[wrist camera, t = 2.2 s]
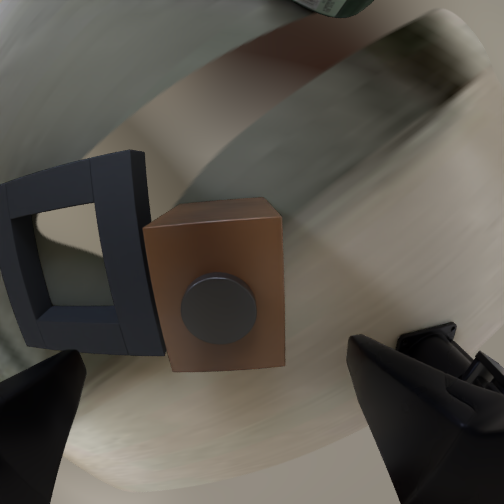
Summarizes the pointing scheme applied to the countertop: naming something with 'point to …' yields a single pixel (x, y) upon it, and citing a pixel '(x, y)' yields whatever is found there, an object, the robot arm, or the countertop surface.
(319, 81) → the countertop surface
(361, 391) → the robot arm
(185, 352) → the walnut block
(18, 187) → the dark square frame
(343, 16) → the coffee jar
